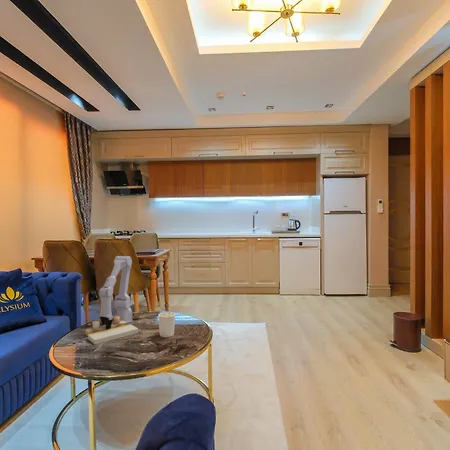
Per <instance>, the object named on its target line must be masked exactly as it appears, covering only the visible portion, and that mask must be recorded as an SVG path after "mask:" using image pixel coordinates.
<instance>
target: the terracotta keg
mask: <svg viewBox="0 0 450 450" xmlns="http://www.w3.org/2000/svg"><path fill="white" fill-rule="evenodd" d="M113 318H114V320H113V322H112V323H113V324H119V323H120V317H119V316H117V315H116V316H113Z"/></svg>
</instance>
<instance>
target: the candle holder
mask: <svg viewBox="0 0 450 450" xmlns="http://www.w3.org/2000/svg"><path fill="white" fill-rule="evenodd" d="M157 317H158V328H159V329H158V330H159V336H160V337H162V338H170V337H172V336H174V335H175V324H176V323H175V322H176V321H175V319H176V318H175V317H176V314H175V312H171V311H165V312H161V313H158V315H157Z"/></svg>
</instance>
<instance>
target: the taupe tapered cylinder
mask: <svg viewBox="0 0 450 450" xmlns="http://www.w3.org/2000/svg"><path fill="white" fill-rule="evenodd" d="M100 324H101V320H93V321H92V328H93V329H99V328H100V326H101V325H100Z"/></svg>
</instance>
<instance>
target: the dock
mask: <svg viewBox="0 0 450 450" xmlns="http://www.w3.org/2000/svg"><path fill="white" fill-rule="evenodd" d="M138 333H139V328H138V327H136V326H134V325H133V324H131V323H129V324H127V325H125V326H121V327H117V328H112V329H108V330H104V331H100V332H96V333H92V334H88V337H87V340H88V341H90V342H91V343H92V344H93V345H98V344H102V343H106V342H109V341H113V340H117V339H120V338H124V337H128V336H131V335H136V334H138Z"/></svg>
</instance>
